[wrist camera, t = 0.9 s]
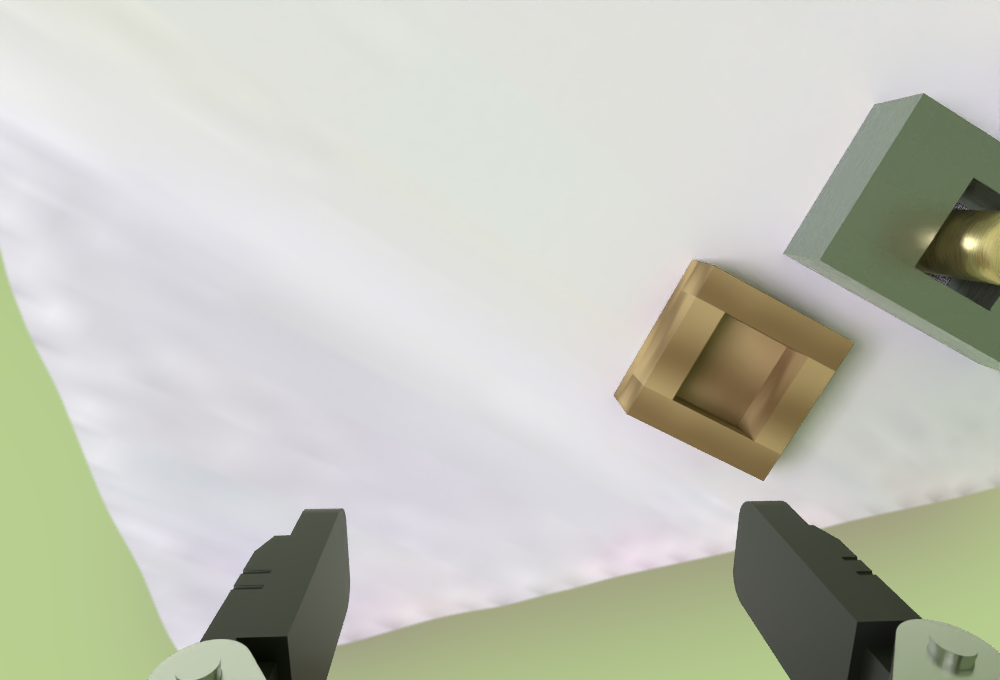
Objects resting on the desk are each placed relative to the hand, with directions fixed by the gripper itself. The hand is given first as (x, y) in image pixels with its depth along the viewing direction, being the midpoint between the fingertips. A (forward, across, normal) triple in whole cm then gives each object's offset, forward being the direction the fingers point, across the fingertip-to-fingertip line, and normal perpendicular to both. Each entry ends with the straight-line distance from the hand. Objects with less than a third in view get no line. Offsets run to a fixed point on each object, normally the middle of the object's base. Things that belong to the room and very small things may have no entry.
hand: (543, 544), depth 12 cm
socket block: (+26, -14, +4) cm, 30 cm away
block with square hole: (+26, -28, -4) cm, 38 cm away
